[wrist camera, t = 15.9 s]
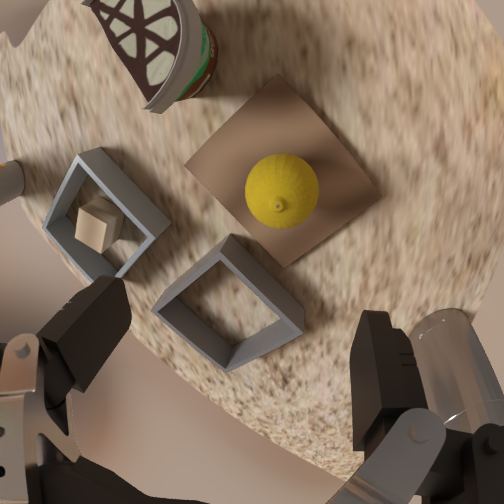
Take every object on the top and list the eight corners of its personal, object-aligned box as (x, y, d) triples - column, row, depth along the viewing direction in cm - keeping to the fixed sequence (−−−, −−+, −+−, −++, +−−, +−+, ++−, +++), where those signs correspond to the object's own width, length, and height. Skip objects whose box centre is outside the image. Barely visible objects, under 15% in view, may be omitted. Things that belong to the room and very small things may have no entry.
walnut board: (379, 193, 26) (382, 196, 25) (284, 263, 31) (283, 268, 30) (279, 75, 22) (278, 74, 22) (187, 163, 28) (183, 165, 27)
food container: (257, 76, 23) (228, 59, 14) (199, 110, 25) (146, 115, 16) (191, -16, 19) (142, -55, 10) (141, 20, 21) (78, -1, 12)
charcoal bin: (305, 309, 33) (303, 333, 30) (232, 351, 38) (225, 373, 35) (230, 233, 30) (219, 251, 27) (164, 290, 35) (150, 310, 32)
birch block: (126, 210, 31) (106, 224, 28) (119, 238, 33) (101, 253, 30) (100, 196, 31) (79, 207, 28) (94, 223, 33) (74, 237, 30)
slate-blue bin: (172, 222, 31) (155, 238, 27) (120, 279, 36) (104, 296, 33) (100, 146, 28) (77, 154, 25) (61, 215, 33) (41, 227, 30)
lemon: (293, 218, 27) (287, 260, 20) (243, 184, 27) (218, 214, 20) (330, 172, 25) (338, 198, 18) (277, 134, 24) (265, 145, 17)
